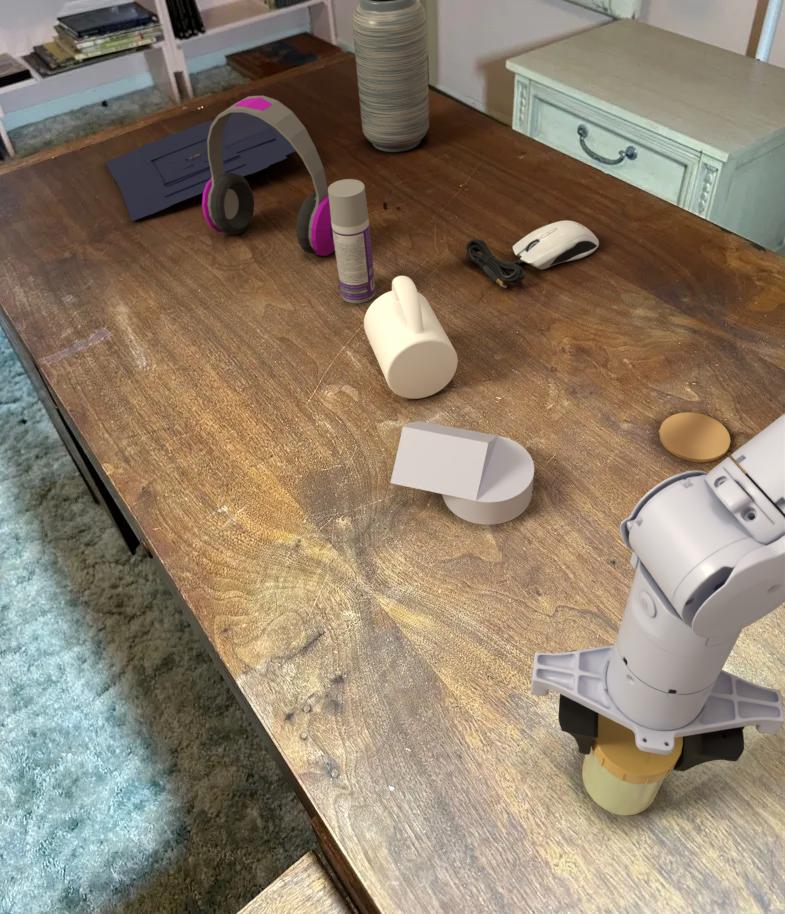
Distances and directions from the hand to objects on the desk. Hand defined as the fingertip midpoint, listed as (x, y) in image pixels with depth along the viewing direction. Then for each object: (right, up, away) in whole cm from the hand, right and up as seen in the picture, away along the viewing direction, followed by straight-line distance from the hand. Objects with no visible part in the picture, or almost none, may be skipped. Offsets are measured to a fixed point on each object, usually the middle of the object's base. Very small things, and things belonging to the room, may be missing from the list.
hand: (629, 748), depth 53 cm
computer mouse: (+4, +48, +53) cm, 71 cm away
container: (-21, +42, +50) cm, 68 cm away
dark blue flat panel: (-49, +69, +78) cm, 115 cm away
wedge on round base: (-9, +17, +25) cm, 31 cm away
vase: (-16, +75, +81) cm, 112 cm away
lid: (0, +2, -2) cm, 2 cm away
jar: (0, -4, +4) cm, 5 cm away
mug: (-14, +30, +38) cm, 50 cm away
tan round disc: (+15, +22, +27) cm, 38 cm away
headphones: (-33, +52, +60) cm, 86 cm away
